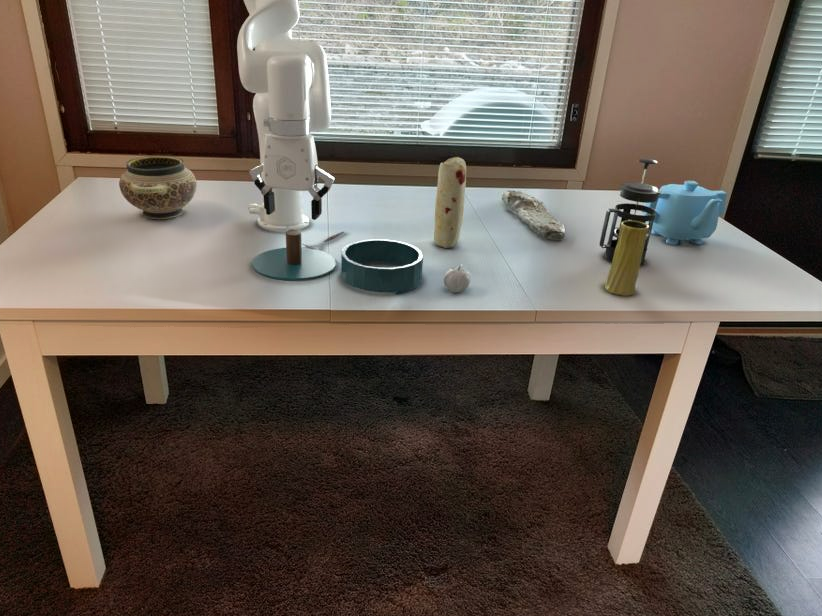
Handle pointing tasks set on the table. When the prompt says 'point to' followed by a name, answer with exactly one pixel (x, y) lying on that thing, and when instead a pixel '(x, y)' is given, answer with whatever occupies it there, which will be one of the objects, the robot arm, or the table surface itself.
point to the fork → (326, 240)
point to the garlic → (457, 279)
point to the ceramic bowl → (158, 185)
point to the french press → (632, 193)
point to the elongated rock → (534, 214)
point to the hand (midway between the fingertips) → (293, 215)
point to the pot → (382, 277)
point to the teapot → (687, 212)
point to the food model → (449, 202)
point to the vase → (627, 258)
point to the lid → (294, 261)
